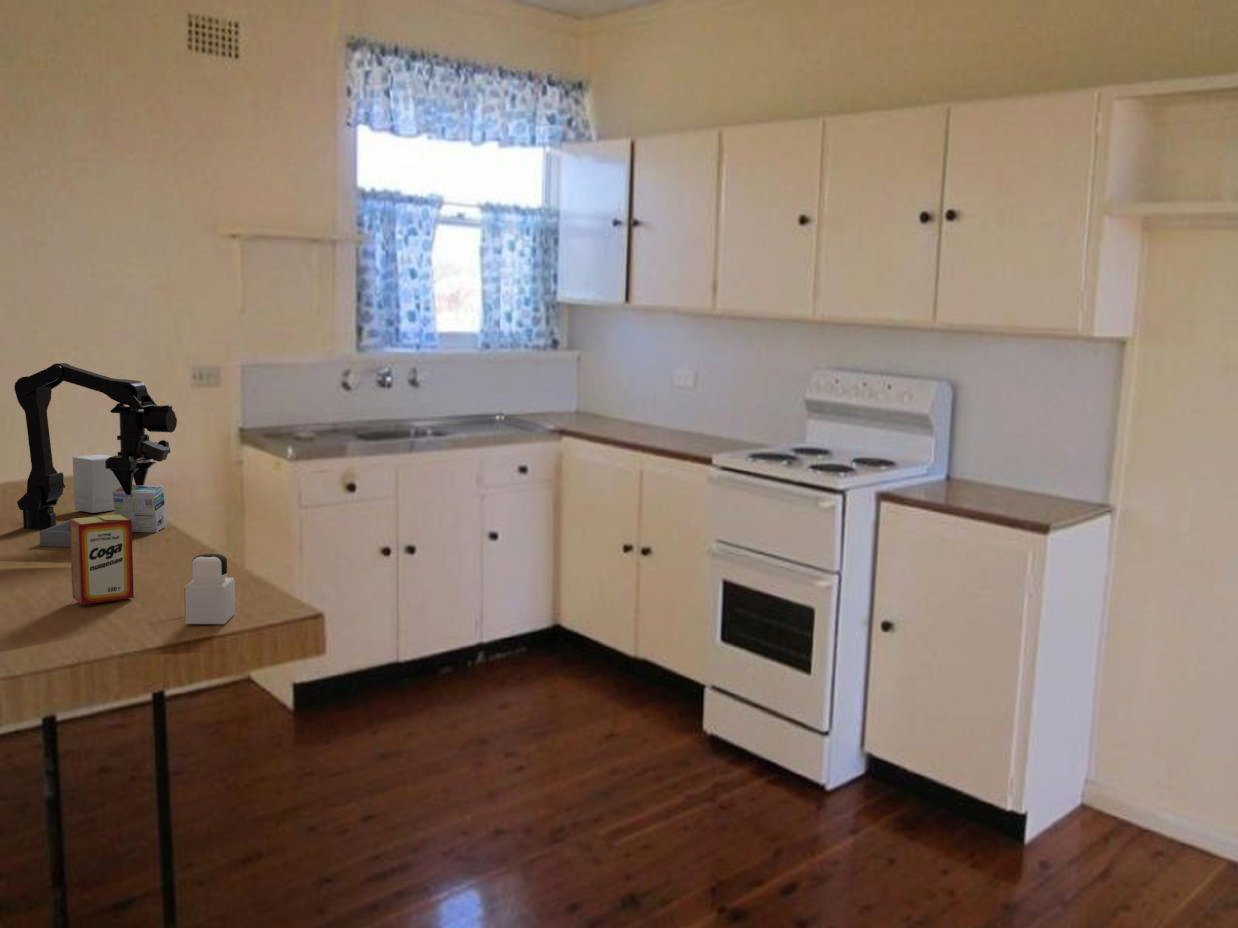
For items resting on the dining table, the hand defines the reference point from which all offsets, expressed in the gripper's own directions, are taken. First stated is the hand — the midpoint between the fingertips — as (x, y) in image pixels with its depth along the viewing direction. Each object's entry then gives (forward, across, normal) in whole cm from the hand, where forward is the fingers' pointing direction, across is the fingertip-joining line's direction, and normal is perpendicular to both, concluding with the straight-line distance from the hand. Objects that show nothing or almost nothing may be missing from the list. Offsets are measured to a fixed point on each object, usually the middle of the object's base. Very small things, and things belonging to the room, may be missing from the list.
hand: (134, 492), depth 273 cm
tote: (+10, -12, +6) cm, 17 cm away
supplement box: (+10, +28, +22) cm, 37 cm away
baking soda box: (+10, -64, -20) cm, 68 cm away
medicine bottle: (+10, -77, -46) cm, 90 cm away
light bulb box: (+10, +2, -1) cm, 10 cm away
